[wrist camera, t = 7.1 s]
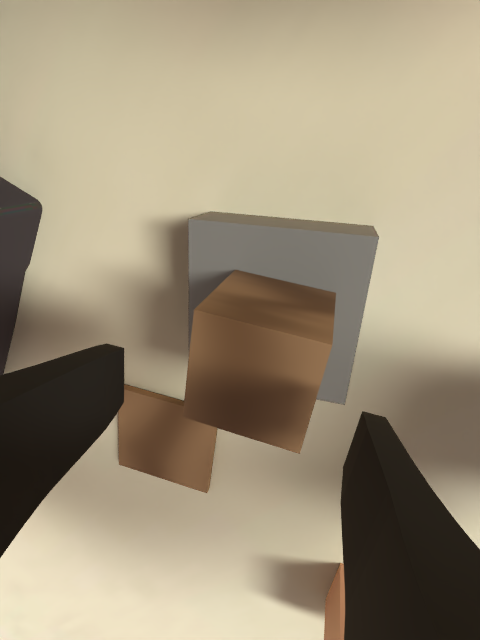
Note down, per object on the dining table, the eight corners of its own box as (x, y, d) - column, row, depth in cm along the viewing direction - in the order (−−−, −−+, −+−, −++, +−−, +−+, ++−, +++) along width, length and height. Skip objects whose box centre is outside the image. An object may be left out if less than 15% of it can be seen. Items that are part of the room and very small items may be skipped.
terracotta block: (405, 584, 25) (419, 674, 21) (386, 620, 27) (394, 709, 23) (340, 561, 26) (339, 643, 22) (325, 598, 28) (322, 680, 23)
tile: (219, 411, 23) (217, 415, 23) (209, 487, 26) (206, 493, 26) (122, 383, 25) (118, 387, 24) (122, 459, 28) (118, 464, 27)
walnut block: (336, 292, 15) (332, 345, 11) (311, 379, 17) (299, 453, 13) (235, 269, 16) (194, 309, 12) (222, 354, 18) (182, 417, 14)
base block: (372, 224, 17) (379, 237, 14) (344, 368, 21) (344, 404, 17) (213, 210, 19) (188, 219, 16) (210, 345, 22) (188, 374, 19)
